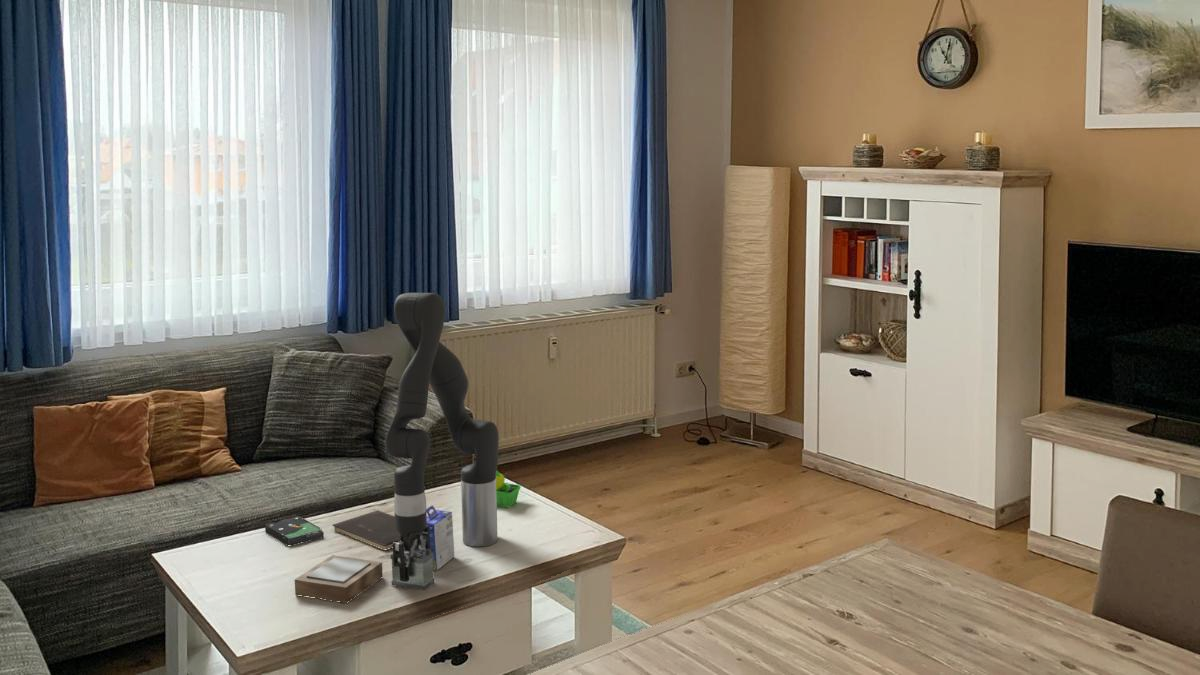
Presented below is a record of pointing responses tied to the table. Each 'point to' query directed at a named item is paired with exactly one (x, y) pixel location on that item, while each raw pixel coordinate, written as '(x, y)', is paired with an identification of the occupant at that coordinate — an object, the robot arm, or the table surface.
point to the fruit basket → (505, 491)
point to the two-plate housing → (416, 571)
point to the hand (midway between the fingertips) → (412, 574)
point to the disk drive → (294, 530)
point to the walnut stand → (338, 578)
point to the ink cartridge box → (440, 536)
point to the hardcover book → (371, 529)
